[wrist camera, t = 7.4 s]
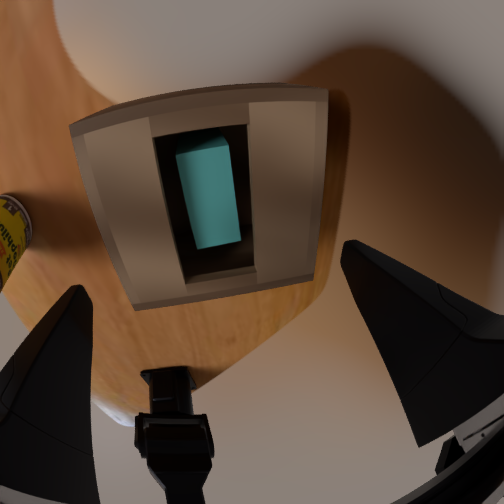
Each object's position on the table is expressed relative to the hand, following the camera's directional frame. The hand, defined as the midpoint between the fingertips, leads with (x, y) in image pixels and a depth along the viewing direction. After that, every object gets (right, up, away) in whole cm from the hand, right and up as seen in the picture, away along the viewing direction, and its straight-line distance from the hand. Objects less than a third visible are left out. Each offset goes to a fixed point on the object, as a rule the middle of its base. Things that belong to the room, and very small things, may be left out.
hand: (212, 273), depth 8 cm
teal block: (-2, +6, +9) cm, 11 cm away
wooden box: (-2, +7, +9) cm, 12 cm away
